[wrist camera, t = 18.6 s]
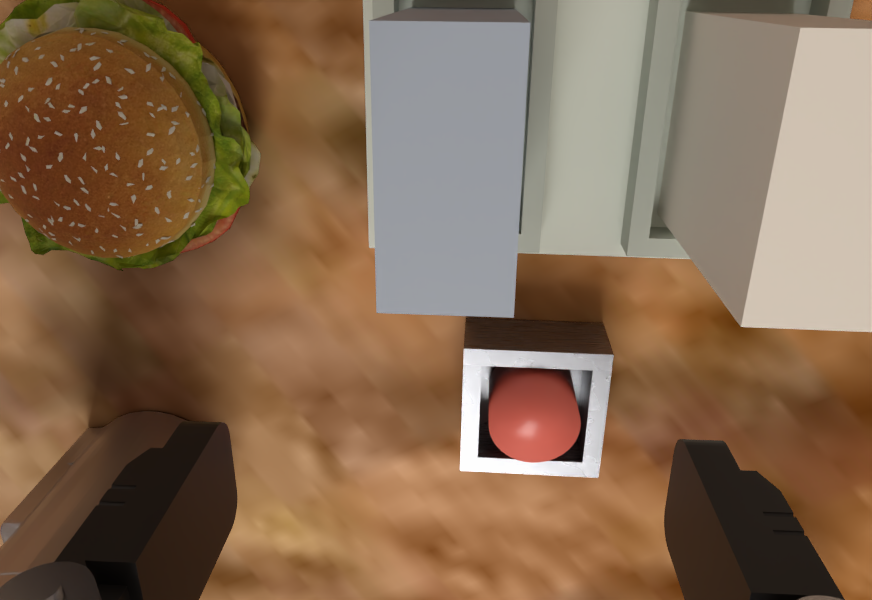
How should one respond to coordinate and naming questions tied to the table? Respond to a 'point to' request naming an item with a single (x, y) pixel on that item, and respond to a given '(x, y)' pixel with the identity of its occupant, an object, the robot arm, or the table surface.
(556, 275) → the table surface
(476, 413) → the button housing
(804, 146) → the block
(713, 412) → the table surface
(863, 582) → the table surface
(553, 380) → the button
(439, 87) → the block
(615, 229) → the grey holder tray
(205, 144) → the food
